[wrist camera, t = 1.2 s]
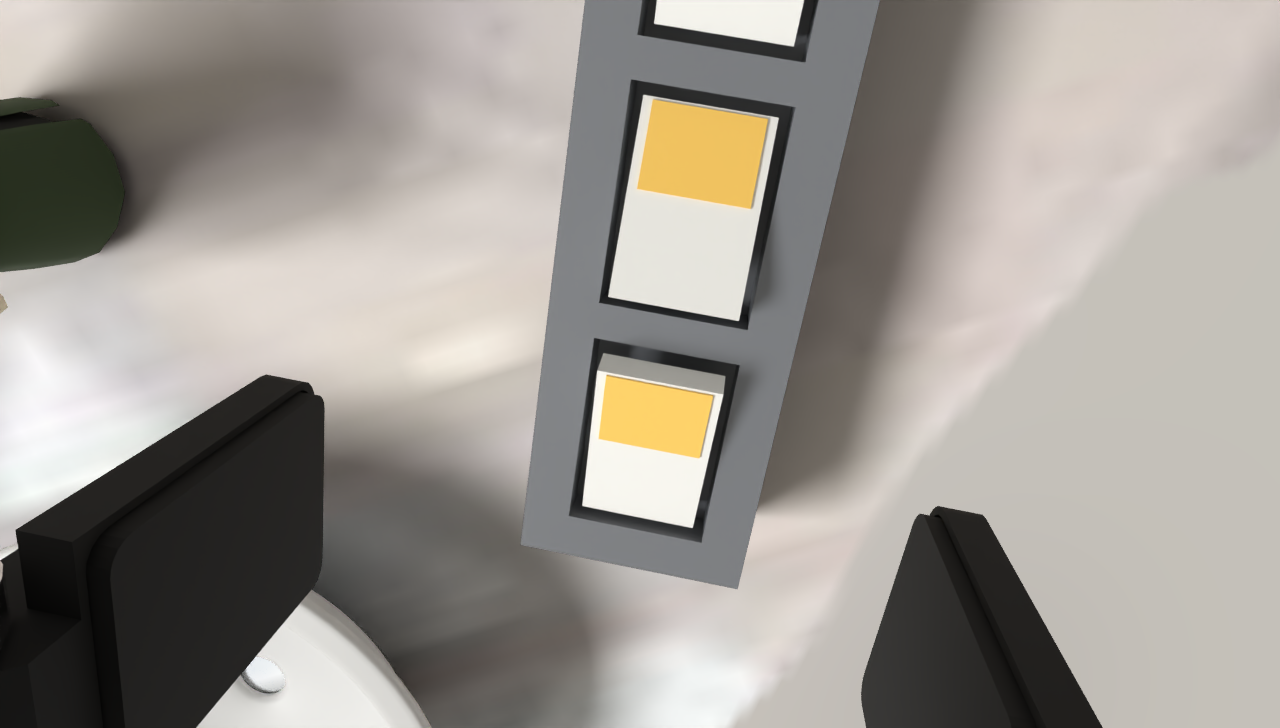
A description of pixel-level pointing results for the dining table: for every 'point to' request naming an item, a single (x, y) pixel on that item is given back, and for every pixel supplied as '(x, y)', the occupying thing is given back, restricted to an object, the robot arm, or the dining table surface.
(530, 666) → the dining table surface
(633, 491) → the rocker
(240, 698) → the soup bowl
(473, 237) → the dining table surface
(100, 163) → the character mug
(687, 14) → the rocker
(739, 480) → the rocker switch panel
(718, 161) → the middle rocker
